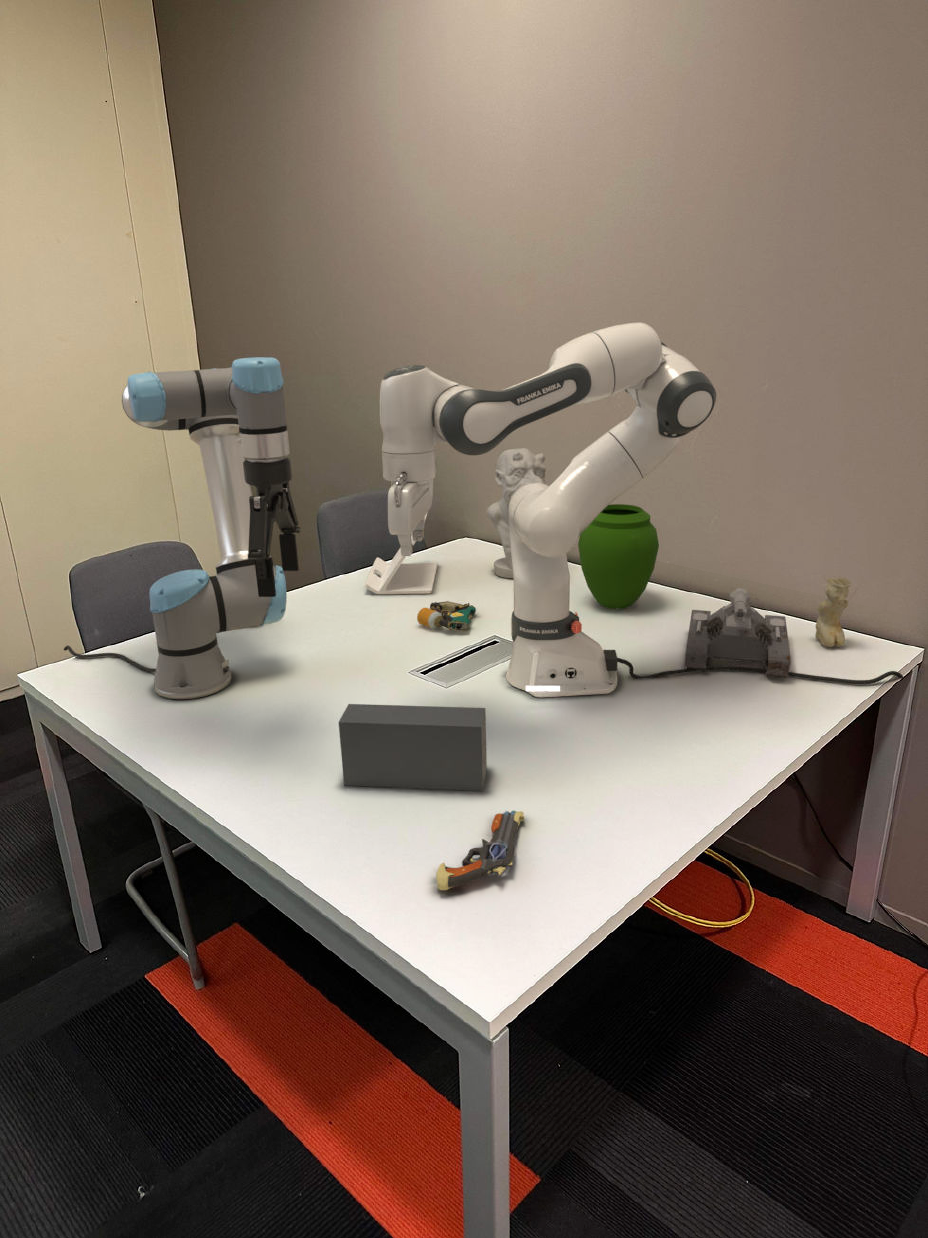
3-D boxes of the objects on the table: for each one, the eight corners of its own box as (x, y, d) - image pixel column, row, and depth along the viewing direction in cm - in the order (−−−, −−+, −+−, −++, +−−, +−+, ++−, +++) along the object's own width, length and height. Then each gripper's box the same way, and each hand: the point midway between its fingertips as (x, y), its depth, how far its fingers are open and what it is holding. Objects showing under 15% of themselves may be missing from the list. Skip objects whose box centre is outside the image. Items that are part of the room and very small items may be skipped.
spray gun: (437, 609, 217) (492, 618, 211) (406, 627, 202) (463, 638, 196) (438, 593, 215) (492, 602, 209) (406, 610, 201) (464, 620, 195)
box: (486, 770, 141) (485, 707, 137) (482, 791, 135) (481, 726, 131) (353, 765, 144) (348, 703, 140) (344, 785, 138) (338, 722, 134)
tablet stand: (437, 565, 250) (434, 508, 244) (432, 593, 226) (429, 531, 220) (375, 566, 250) (371, 509, 244) (364, 594, 227) (359, 532, 221)
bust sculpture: (503, 593, 225) (502, 460, 212) (483, 567, 247) (480, 445, 234) (562, 587, 228) (563, 456, 215) (536, 562, 250) (536, 441, 237)
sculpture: (821, 649, 184) (830, 583, 179) (808, 637, 191) (816, 573, 185) (848, 649, 184) (858, 582, 179) (834, 636, 191) (843, 572, 185)
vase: (599, 587, 227) (601, 497, 218) (668, 600, 216) (673, 505, 208) (562, 608, 212) (564, 513, 204) (634, 623, 202) (639, 523, 193)
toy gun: (431, 878, 111) (506, 878, 109) (459, 807, 129) (524, 805, 127) (434, 896, 112) (509, 896, 110) (461, 823, 130) (526, 821, 128)
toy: (690, 629, 197) (694, 567, 192) (782, 637, 191) (789, 573, 186) (684, 674, 174) (688, 605, 169) (788, 683, 169) (796, 612, 163)
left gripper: (267, 444, 149) (279, 560, 157) (215, 473, 126) (233, 608, 134) (309, 444, 149) (319, 560, 156) (265, 473, 126) (279, 608, 133)
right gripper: (415, 479, 132) (419, 565, 137) (438, 456, 151) (440, 532, 156) (375, 479, 133) (380, 564, 138) (403, 456, 152) (406, 532, 157)
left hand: (279, 582), depth 145 cm, fingers open, 13 cm apart
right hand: (412, 547), depth 147 cm, fingers open, 8 cm apart
